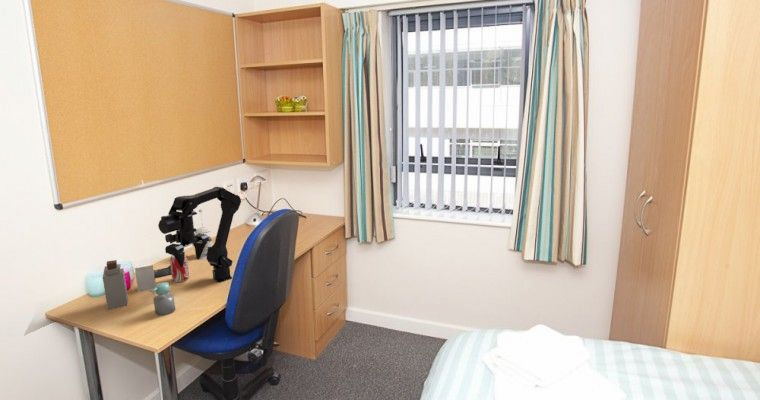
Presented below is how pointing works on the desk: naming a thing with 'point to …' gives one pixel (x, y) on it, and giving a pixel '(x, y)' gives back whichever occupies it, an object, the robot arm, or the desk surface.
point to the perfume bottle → (115, 285)
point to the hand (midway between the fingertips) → (190, 263)
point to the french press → (206, 230)
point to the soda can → (179, 270)
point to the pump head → (161, 289)
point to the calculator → (162, 272)
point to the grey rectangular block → (145, 278)
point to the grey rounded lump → (164, 304)
